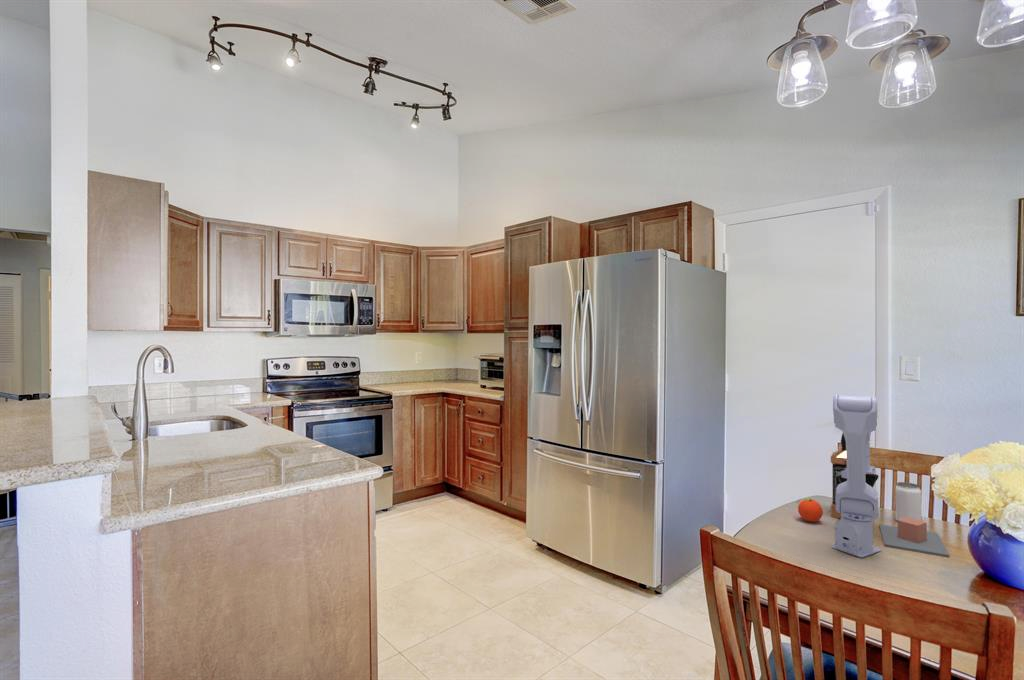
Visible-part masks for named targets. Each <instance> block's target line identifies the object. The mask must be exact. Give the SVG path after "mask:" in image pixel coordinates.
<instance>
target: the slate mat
mask: <svg viewBox="0 0 1024 680" xmlns="http://www.w3.org/2000/svg"><path fill="white" fill-rule="evenodd" d="M879 529H880V534H881V537H882V542H883V546H884V547H886V548H887V547H888V548H894V549H898V550H904V551H911V552H917V553H922V554H929V555H935V556H940V557H946V558H950V554H949V552H948V549H947V548H946V545H945V544H944V542H943V540H942V539H941V537H940V535H939V533H938V532H931V531H927V540H925V541H923V542H920V543H915V542H912V541H909V540H905V539H902V538H898V526H894V525H887V524H881V523H880V524H879Z"/></svg>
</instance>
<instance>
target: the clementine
mask: <svg viewBox="0 0 1024 680" xmlns="http://www.w3.org/2000/svg"><path fill="white" fill-rule="evenodd" d="M799 501H800V502H799ZM799 501H797V503H796V504H798V502H799V504H798V506H797V511H798V514H799V516H800V517H801V518H802V519H803V520H805V521H807V522H811V523H813V522H818V521H820V520H821V518H822V517H823V515H824V514H823V513H824V512H823V511H824V510H823V508H822V506H821V504H820V503H819V502H818V501H816V500H814V499H812V498H811V499H810V498H804V499H802V498H800V499H799Z"/></svg>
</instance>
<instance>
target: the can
mask: <svg viewBox="0 0 1024 680" xmlns="http://www.w3.org/2000/svg"><path fill="white" fill-rule="evenodd" d="M894 494H895V498H894V499H895V520H896V521H897V522H898V520H899V519H902V518H905V517H907V518H911V519H915V520H919V521H923V520H922V515H923V514H922V490H921V488H920V485H918V484H915V483H911V482H904V481H902V482H901V481H900V482H896V486H895V493H894Z"/></svg>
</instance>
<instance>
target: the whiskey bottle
mask: <svg viewBox="0 0 1024 680" xmlns="http://www.w3.org/2000/svg"><path fill="white" fill-rule="evenodd" d="M840 445H841V448H840V449H837V450H836V451H834V452H832V454H831V456H830V463H831V464H832V502H831V505H830V507H831V508H830V516H831V517H832V518H836V519H841V513H838V512H837V511H836V488H837V487H838V485H839V484H841V481H840V480H839V476H841V475H842V471H844V470H845V469H846V468H847V462H846V441H845V437H844V434H843V433H842V434H841V439H840Z"/></svg>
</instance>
